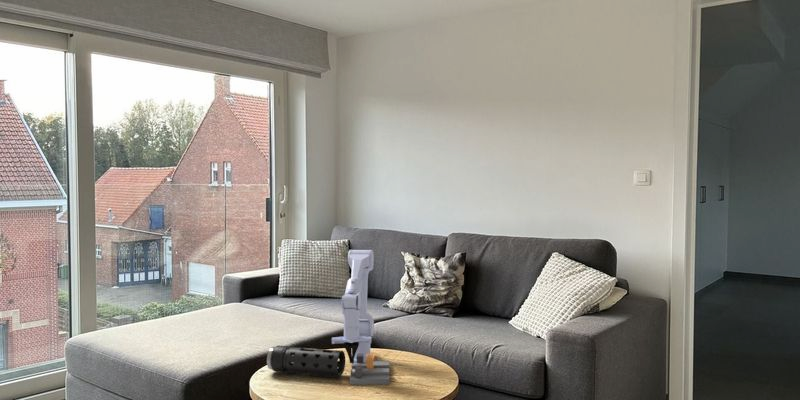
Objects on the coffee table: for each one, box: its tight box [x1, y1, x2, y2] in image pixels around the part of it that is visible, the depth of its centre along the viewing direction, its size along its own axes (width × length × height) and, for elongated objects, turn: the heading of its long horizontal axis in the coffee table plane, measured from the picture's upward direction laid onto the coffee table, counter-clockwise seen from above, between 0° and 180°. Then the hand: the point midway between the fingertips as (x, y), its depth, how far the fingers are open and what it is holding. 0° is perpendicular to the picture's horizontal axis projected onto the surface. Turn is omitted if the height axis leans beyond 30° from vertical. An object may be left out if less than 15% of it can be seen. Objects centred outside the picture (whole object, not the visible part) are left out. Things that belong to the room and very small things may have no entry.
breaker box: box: [349, 354, 390, 386], centre depth 225 cm, size 20×14×6 cm
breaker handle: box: [366, 353, 375, 369], centre depth 225 cm, size 4×3×5 cm
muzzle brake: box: [266, 345, 346, 379], centre depth 226 cm, size 10×28×10 cm, turn 76°
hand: (351, 362), depth 225 cm, fingers closed
